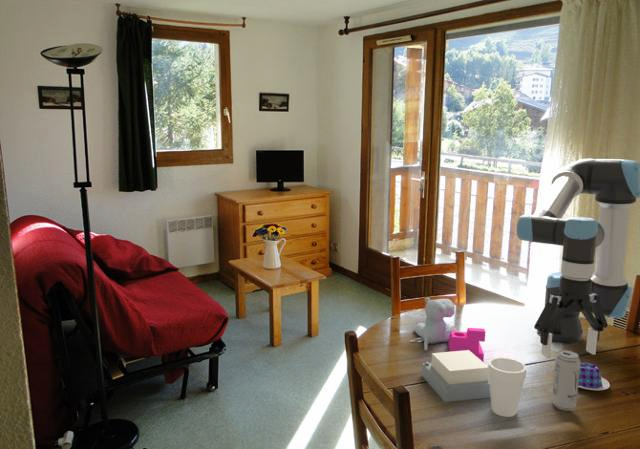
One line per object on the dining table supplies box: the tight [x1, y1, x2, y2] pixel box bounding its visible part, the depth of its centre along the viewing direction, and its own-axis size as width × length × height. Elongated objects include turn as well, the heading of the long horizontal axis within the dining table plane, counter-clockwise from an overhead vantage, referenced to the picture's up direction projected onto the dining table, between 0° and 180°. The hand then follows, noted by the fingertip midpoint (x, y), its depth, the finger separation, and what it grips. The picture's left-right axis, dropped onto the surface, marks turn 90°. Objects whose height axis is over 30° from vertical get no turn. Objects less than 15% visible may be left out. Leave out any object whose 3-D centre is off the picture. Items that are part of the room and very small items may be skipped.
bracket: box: [447, 327, 486, 362], centre depth 174 cm, size 12×10×10 cm
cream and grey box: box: [421, 350, 491, 403], centre depth 151 cm, size 16×16×8 cm
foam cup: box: [487, 356, 527, 418], centre depth 137 cm, size 10×9×13 cm
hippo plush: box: [409, 297, 459, 352], centre depth 184 cm, size 15×19×15 cm
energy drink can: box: [551, 349, 582, 412], centre depth 139 cm, size 6×6×15 cm
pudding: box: [578, 362, 611, 391], centre depth 154 cm, size 12×12×5 cm
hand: (568, 354), depth 138 cm, fingers open, 13 cm apart
